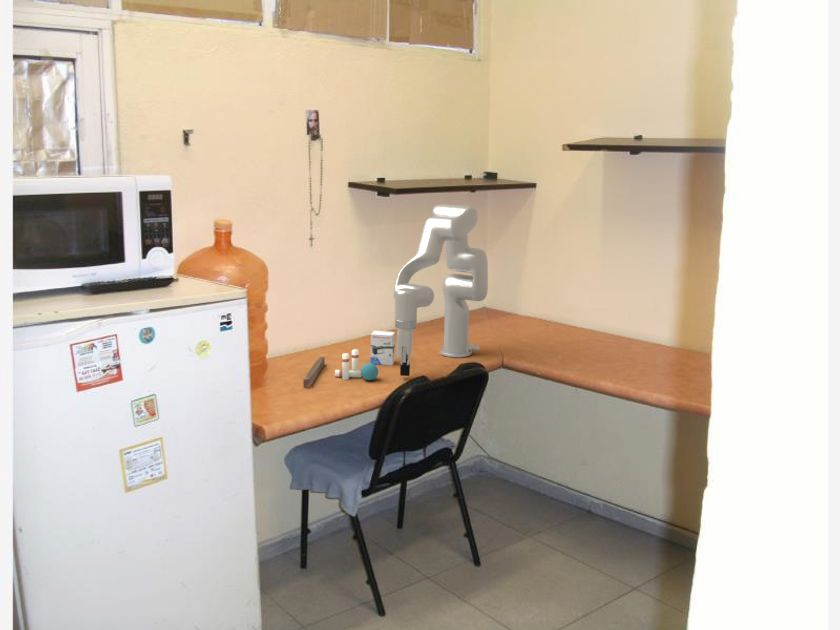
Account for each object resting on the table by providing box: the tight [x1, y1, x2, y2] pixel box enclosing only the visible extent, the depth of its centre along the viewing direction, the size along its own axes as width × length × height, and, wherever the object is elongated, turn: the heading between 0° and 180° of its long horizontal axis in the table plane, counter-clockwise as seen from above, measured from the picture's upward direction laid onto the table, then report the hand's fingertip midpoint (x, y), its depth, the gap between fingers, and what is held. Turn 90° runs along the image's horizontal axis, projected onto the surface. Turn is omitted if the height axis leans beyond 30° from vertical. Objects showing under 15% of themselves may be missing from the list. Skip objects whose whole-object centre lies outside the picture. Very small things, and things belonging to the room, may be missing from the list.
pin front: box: [334, 369, 362, 379], centre depth 281 cm, size 2×2×9 cm
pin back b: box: [341, 352, 350, 381], centre depth 278 cm, size 2×2×9 cm
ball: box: [360, 362, 379, 381], centre depth 278 cm, size 6×6×6 cm
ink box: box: [370, 330, 396, 366], centre depth 298 cm, size 8×5×12 cm, turn 82°
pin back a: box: [351, 348, 360, 371], centre depth 284 cm, size 2×2×9 cm
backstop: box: [302, 356, 326, 389], centre depth 282 cm, size 2×28×3 cm, turn 176°
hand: (404, 375), depth 280 cm, fingers closed
